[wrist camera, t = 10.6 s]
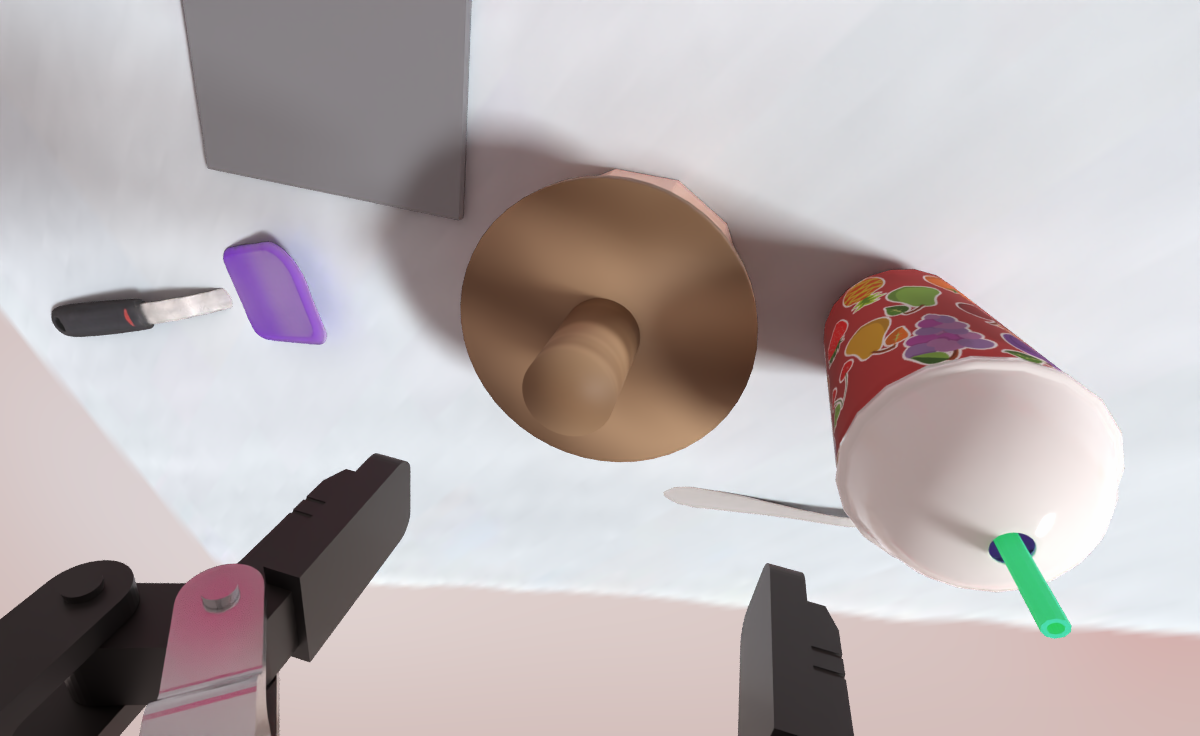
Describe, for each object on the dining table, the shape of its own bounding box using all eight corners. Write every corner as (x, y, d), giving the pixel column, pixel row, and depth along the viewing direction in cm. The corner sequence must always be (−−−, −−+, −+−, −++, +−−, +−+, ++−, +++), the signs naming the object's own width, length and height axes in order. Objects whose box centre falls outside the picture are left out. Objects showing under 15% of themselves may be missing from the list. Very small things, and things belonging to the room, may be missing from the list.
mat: (166, -173, 29) (155, -178, 29) (476, -135, 27) (471, -139, 27) (215, 166, 37) (207, 168, 36) (463, 217, 35) (458, 220, 34)
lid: (474, 149, 27) (392, 172, 21) (795, 207, 25) (810, 252, 19) (464, 416, 33) (399, 494, 27) (718, 478, 31) (710, 577, 25)
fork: (619, 465, 40) (614, 481, 39) (1030, 508, 35) (1043, 529, 34) (620, 504, 42) (615, 521, 40) (1015, 551, 37) (1027, 572, 35)
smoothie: (826, 409, 35) (903, 750, 17) (787, 275, 32) (831, 520, 15) (990, 372, 32) (1282, 738, 14) (963, 222, 29) (1282, 447, 12)
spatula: (87, 358, 47) (55, 371, 45) (40, 273, 44) (3, 283, 42) (352, 331, 40) (329, 346, 38) (315, 230, 38) (288, 239, 36)
